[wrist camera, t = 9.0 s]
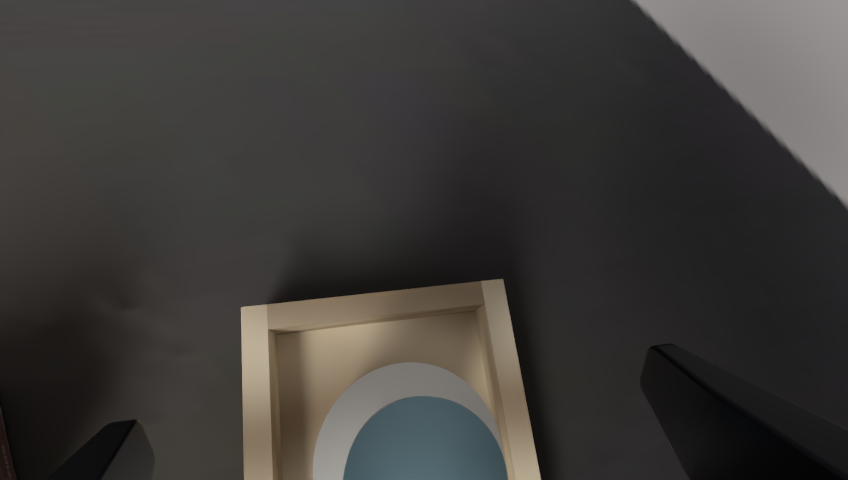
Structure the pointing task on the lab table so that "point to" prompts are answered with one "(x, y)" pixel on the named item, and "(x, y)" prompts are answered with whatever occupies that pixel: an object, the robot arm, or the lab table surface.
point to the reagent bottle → (409, 429)
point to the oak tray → (373, 366)
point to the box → (5, 455)
